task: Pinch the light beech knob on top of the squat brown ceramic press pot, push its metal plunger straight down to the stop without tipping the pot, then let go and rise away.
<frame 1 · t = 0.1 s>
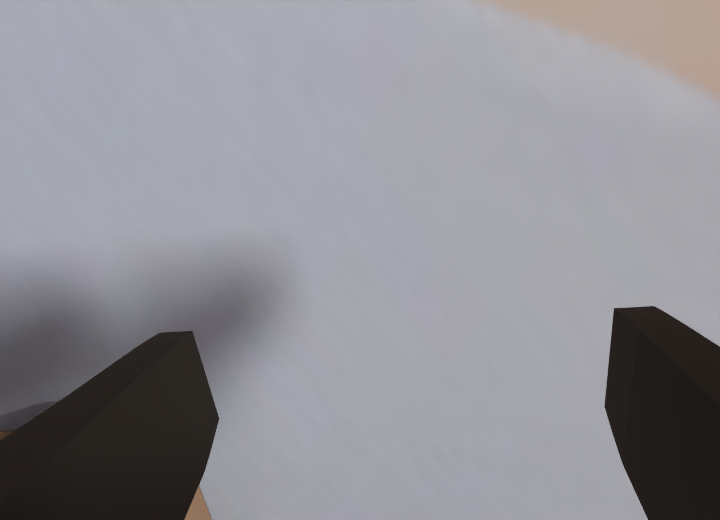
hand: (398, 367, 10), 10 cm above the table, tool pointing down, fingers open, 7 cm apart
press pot: (115, 496, 27), on the table
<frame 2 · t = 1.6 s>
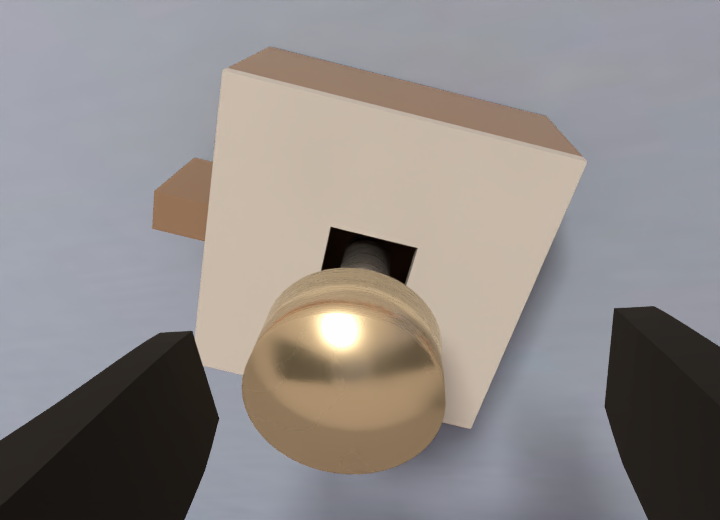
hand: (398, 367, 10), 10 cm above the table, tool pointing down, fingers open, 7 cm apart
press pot: (375, 209, 20), on the table
plunger: (357, 312, 14), point 7 cm above the table, slide at 0.0 cm
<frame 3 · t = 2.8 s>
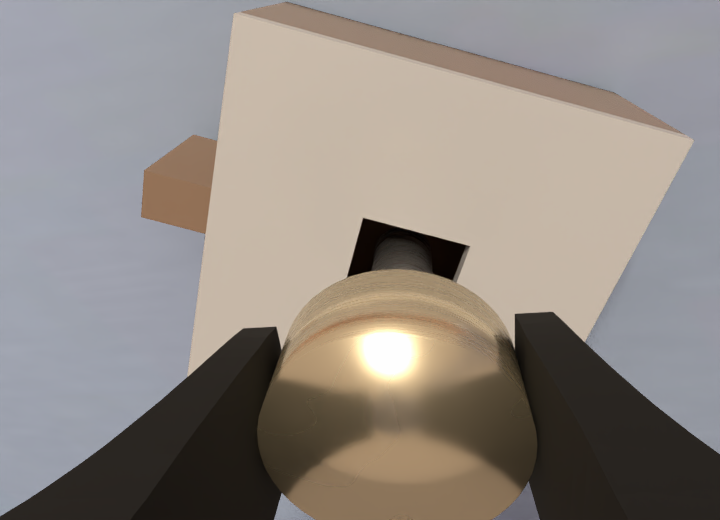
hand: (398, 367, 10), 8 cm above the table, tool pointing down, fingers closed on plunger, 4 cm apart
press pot: (405, 201, 17), on the table
plunger: (399, 325, 11), point 7 cm above the table, slide at 0.0 cm, touching gripper
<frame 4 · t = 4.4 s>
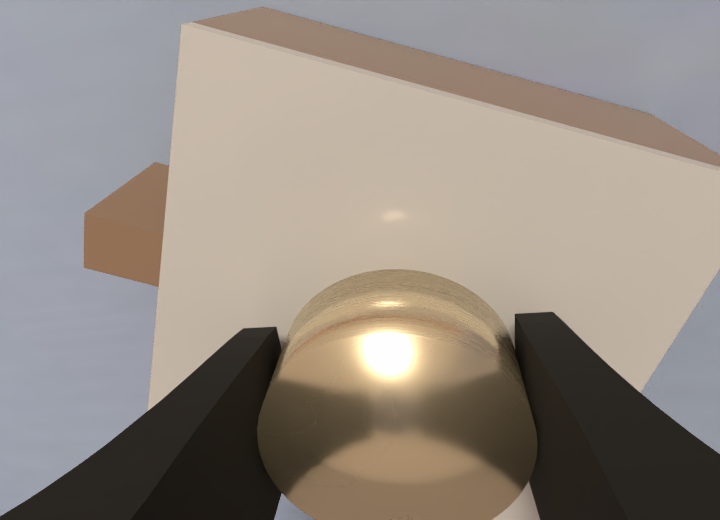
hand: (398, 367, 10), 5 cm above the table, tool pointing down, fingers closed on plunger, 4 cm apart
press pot: (403, 237, 14), on the table
plunger: (399, 325, 11), point 4 cm above the table, slide at 2.6 cm, touching gripper
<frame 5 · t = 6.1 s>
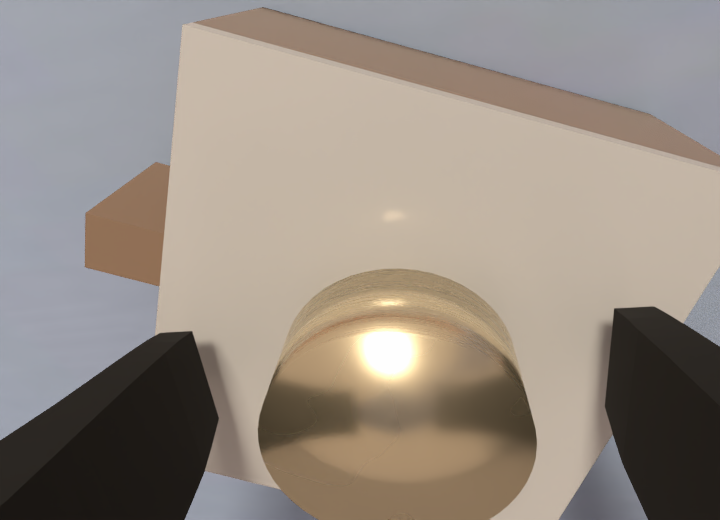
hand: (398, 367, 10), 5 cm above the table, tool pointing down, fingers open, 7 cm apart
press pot: (403, 237, 15), on the table
plunger: (399, 325, 11), point 4 cm above the table, slide at 2.6 cm
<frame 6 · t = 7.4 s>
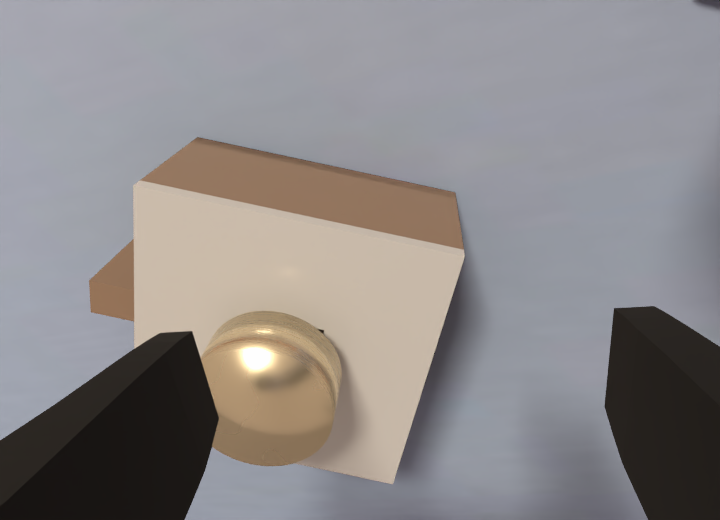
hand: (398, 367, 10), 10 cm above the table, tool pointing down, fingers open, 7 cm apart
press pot: (307, 276, 21), on the table
plunger: (284, 340, 17), point 4 cm above the table, slide at 2.6 cm
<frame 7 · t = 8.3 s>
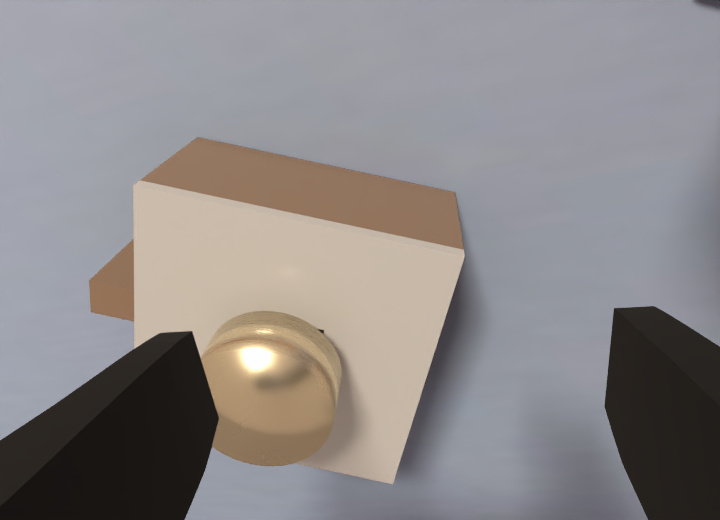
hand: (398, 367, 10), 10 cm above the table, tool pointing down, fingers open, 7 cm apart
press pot: (307, 276, 21), on the table
plunger: (284, 340, 17), point 4 cm above the table, slide at 2.6 cm
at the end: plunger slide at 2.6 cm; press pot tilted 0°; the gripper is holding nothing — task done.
